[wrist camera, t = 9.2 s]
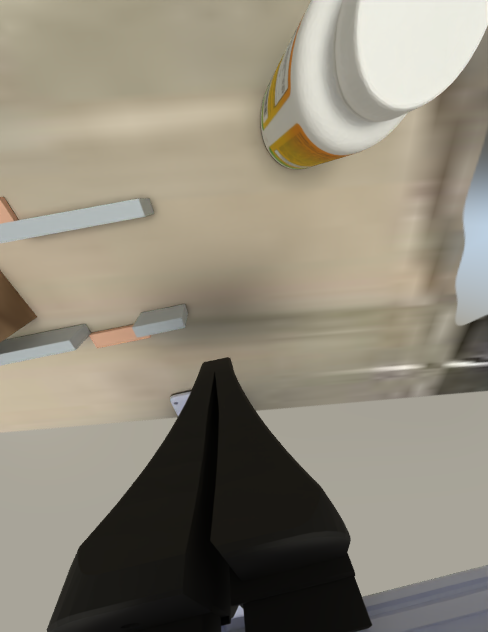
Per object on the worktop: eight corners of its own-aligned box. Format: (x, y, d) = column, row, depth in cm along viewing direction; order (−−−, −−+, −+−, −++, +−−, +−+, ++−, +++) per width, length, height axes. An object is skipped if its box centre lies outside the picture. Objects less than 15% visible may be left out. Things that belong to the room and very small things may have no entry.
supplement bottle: (345, 146, 15) (514, 85, 7) (276, 184, 16) (350, 172, 7) (328, 39, 12) (574, -289, 4) (245, 90, 13) (306, -103, 5)
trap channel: (192, 326, 21) (190, 342, 18) (3, 365, 20) (-23, 385, 18) (140, 172, 14) (127, 168, 12) (-139, 222, 14) (-206, 227, 11)
